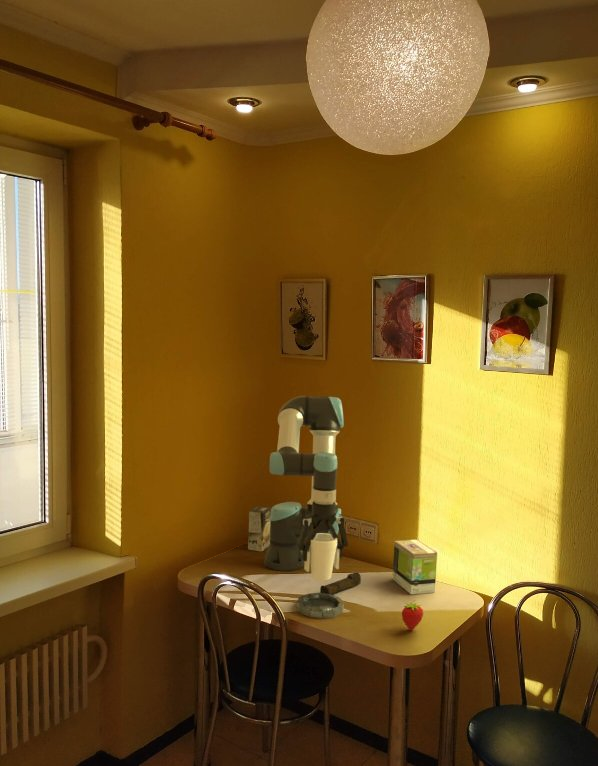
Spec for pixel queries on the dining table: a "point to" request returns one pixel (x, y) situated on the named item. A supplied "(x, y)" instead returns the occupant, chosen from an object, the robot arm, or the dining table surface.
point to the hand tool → (342, 584)
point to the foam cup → (322, 556)
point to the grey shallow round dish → (320, 605)
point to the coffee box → (259, 528)
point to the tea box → (414, 566)
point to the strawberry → (412, 615)
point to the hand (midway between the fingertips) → (321, 568)
